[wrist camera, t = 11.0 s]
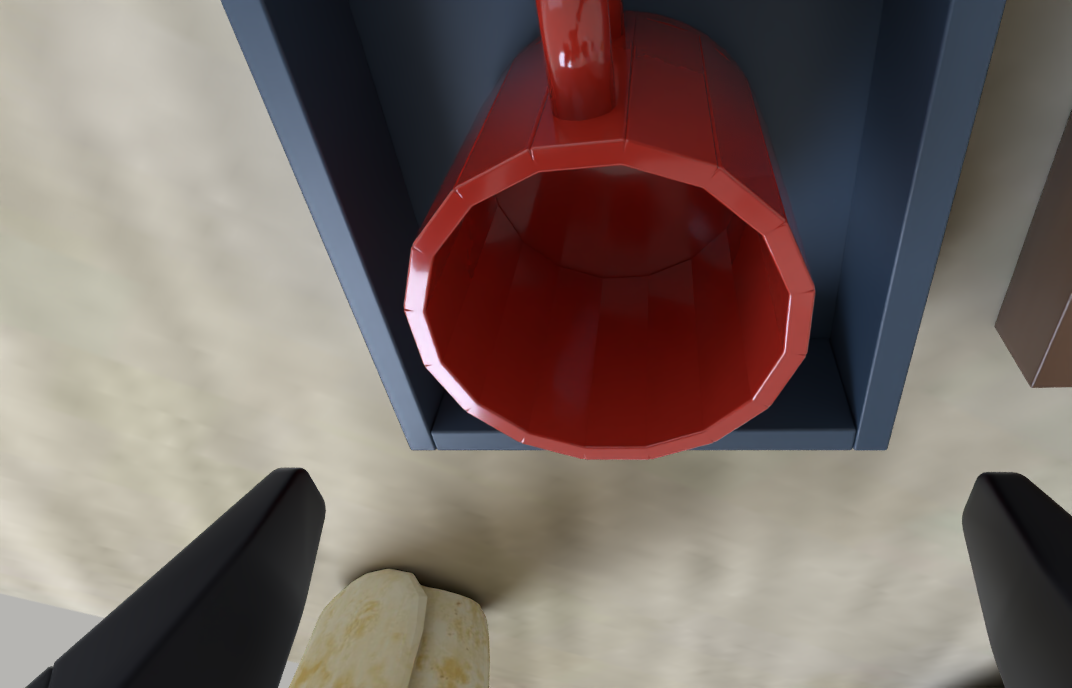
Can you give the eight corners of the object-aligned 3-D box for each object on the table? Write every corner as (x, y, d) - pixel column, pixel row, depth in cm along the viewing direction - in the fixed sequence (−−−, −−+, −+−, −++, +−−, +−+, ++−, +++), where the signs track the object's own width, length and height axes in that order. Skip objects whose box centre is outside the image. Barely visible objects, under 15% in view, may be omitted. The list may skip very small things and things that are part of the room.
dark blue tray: (979, -367, 11) (1122, -422, 7) (850, 339, 20) (887, 451, 17) (263, -206, 13) (136, -194, 10) (445, 352, 22) (410, 451, 19)
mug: (756, 268, 18) (794, 460, 13) (507, 282, 19) (456, 460, 14) (782, -167, 12) (870, -114, 7) (420, -102, 13) (282, -20, 8)
